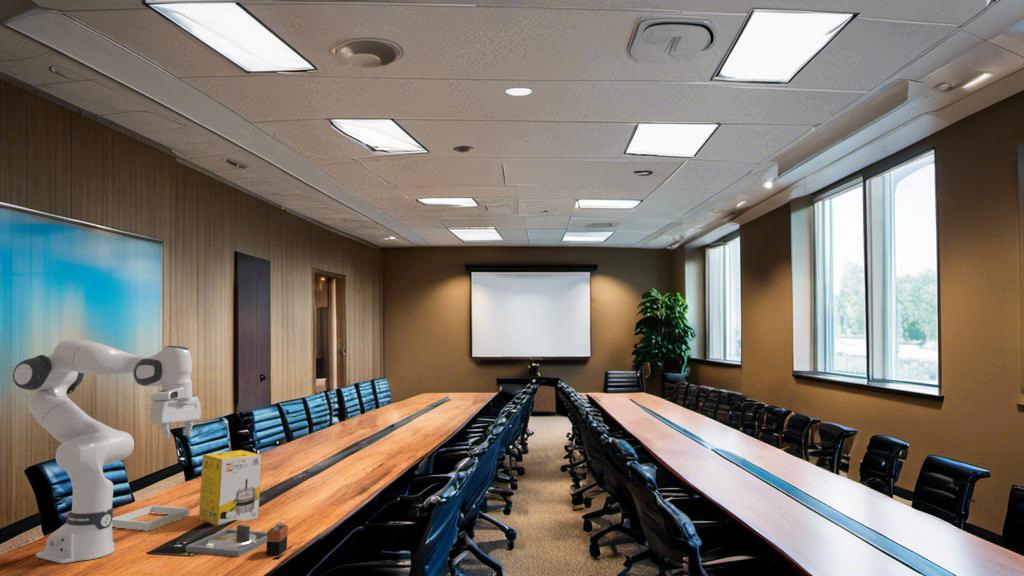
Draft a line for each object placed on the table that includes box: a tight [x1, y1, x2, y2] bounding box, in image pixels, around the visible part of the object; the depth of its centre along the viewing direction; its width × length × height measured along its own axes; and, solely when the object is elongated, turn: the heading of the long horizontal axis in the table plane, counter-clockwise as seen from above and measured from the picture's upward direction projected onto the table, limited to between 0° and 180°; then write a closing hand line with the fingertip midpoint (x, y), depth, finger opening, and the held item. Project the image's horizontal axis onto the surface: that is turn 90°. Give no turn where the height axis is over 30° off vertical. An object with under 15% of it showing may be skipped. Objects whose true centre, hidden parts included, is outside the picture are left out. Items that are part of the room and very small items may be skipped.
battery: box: [265, 522, 289, 560], centre depth 200 cm, size 4×7×10 cm, turn 178°
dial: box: [208, 524, 257, 549], centre depth 207 cm, size 15×15×7 cm
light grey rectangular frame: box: [111, 505, 191, 531], centre depth 236 cm, size 18×21×3 cm
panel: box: [185, 528, 267, 558], centre depth 207 cm, size 20×20×4 cm
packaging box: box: [198, 449, 263, 527], centre depth 243 cm, size 16×16×25 cm
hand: (177, 436), depth 199 cm, fingers open, 8 cm apart
